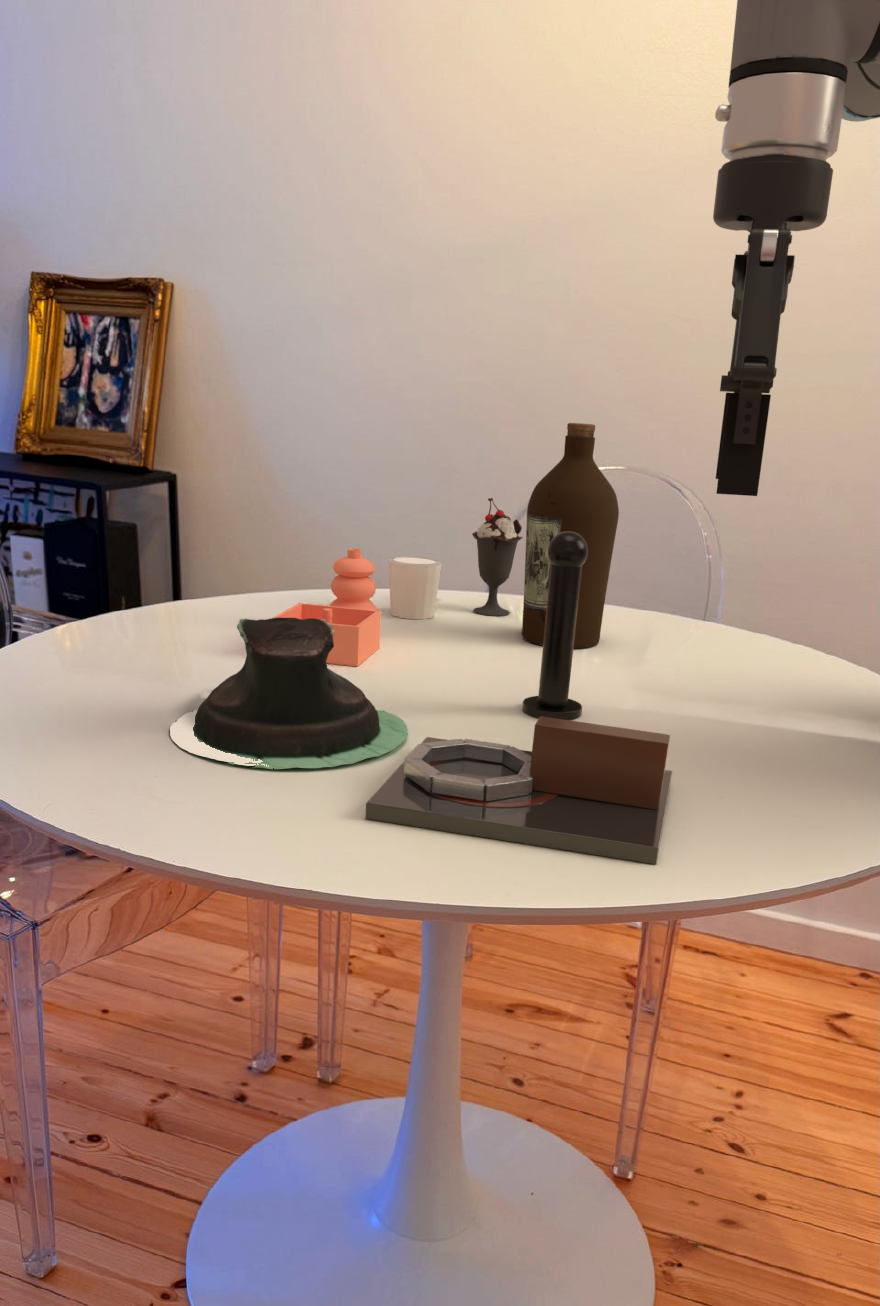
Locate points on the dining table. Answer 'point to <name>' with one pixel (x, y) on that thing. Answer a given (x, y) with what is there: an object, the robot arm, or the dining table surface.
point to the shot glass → (413, 586)
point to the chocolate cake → (293, 703)
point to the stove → (524, 814)
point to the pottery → (348, 611)
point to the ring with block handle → (555, 764)
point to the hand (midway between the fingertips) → (734, 486)
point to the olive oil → (580, 506)
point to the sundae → (496, 556)
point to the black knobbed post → (559, 629)
